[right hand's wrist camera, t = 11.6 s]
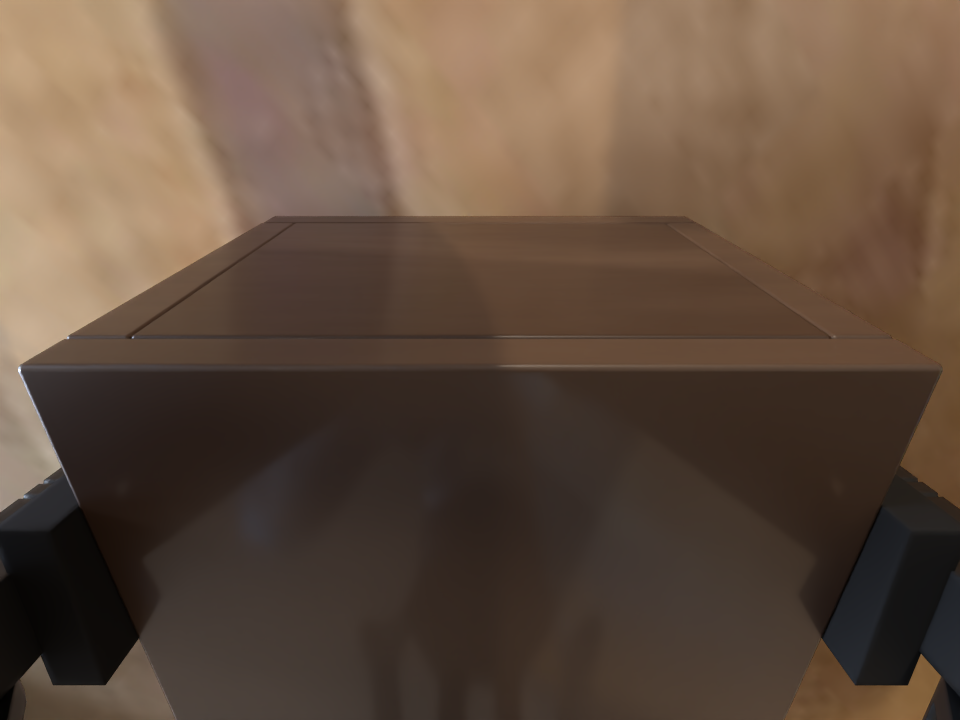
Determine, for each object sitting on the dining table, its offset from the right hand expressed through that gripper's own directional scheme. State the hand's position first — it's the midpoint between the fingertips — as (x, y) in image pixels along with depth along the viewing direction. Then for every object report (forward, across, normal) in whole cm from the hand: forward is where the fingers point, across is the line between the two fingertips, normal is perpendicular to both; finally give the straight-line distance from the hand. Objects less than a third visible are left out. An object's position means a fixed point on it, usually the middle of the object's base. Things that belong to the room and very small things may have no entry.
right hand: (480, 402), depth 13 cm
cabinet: (+3, 0, -5) cm, 6 cm away
